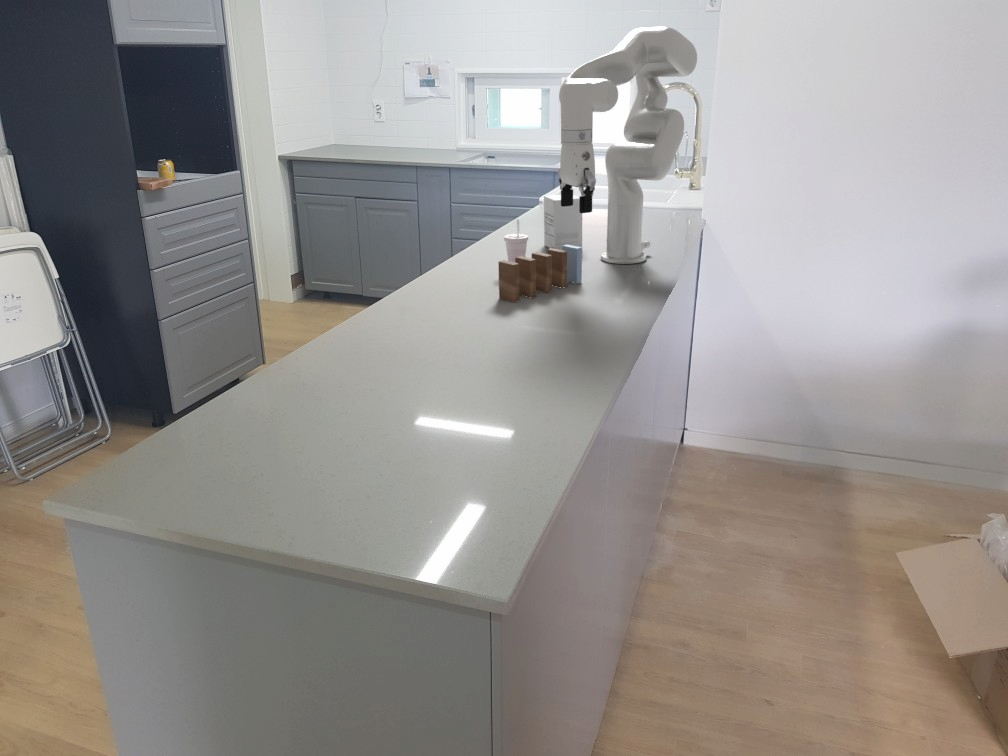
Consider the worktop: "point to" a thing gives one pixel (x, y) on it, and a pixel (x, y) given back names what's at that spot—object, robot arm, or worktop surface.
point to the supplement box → (562, 223)
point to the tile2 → (558, 267)
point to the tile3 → (543, 271)
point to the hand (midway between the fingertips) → (576, 209)
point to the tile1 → (573, 263)
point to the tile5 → (508, 281)
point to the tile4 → (527, 276)
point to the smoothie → (516, 244)
